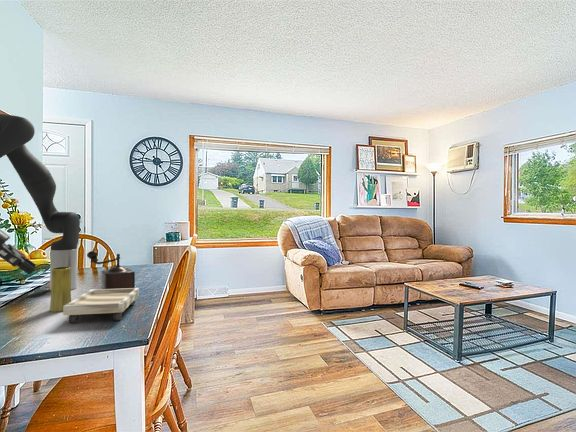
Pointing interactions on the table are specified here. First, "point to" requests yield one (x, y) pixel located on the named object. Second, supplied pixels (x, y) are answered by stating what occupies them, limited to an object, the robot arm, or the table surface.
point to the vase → (60, 288)
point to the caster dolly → (101, 303)
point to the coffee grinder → (114, 274)
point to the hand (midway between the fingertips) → (33, 269)
